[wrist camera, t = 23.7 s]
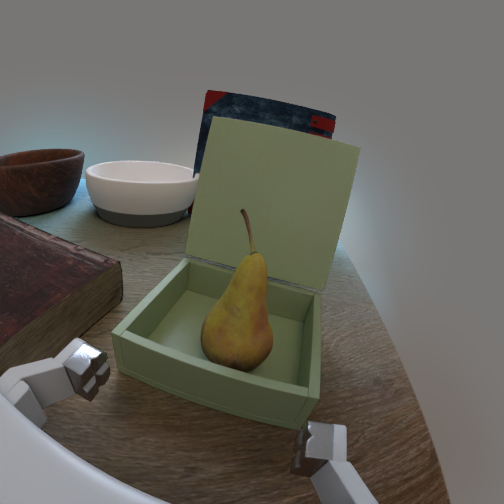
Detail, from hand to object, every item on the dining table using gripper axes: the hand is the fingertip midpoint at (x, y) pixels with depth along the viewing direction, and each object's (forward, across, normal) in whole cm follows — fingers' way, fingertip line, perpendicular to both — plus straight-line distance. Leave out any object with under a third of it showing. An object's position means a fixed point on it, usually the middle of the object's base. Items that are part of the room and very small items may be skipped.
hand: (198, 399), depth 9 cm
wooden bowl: (+30, +52, +9) cm, 61 cm away
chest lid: (+20, +1, -3) cm, 20 cm away
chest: (+12, +1, +9) cm, 15 cm away
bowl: (+39, +27, +9) cm, 49 cm away
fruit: (+10, 0, +8) cm, 13 cm away
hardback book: (+5, +28, +9) cm, 30 cm away
